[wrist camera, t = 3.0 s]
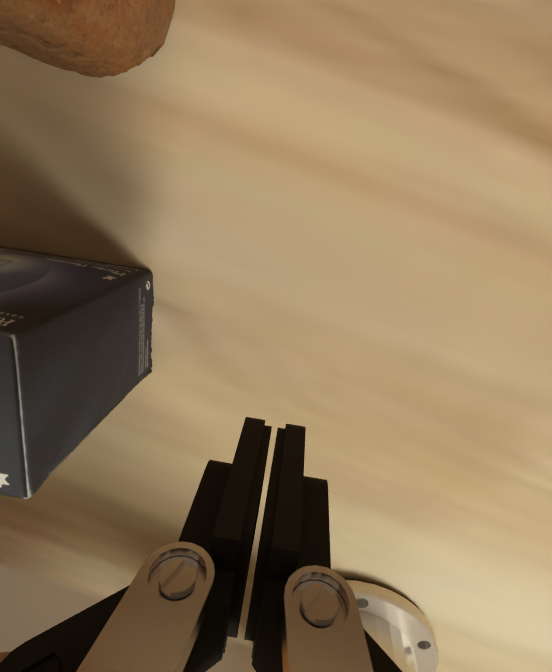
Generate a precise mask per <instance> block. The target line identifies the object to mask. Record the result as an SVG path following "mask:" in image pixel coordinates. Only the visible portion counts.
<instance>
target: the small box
mask: <svg viewBox="0 0 552 672" xmlns="http://www.w3.org/2000/svg"><path fill="white" fill-rule="evenodd" d="M153 299H154V297H153V274H152V272H151V271H149V270H145V269H140V268H133V267H127V266H120V265H114V264H107V263H101V262H95V261H89V260H83V259H76V258H70V257H64V256H57V255H51V254H45V253H39V252H32V251H26V250H20V249H13V248H7V247H1V246H0V495H5V496H11V497H16V498H21V499H28V498H30V497H31V496H32V495H33V494H34V493H35V492H36V491H37V490H38V489H39V488H40V486H41V485H42V484H43V482H44V481H45V480H46V479H47V477H48V476H49V475H50V474H51V473H52V472H53V471H54V470H55V469H56V468H57V466H58V465H59V464H60V463H61V462H63V461H64V460H65V459H66V458H67V456H68V455H69V454H70V453H71V452H72V451H73V450H74V449H75V448H76V447H77V446H78V445H79V444H80V443H81V442H82V441H83V440H84V439H85V438H86V437H87V436H88V435H89V434H90V433H91V432H92V430H93V429H95V428H96V427H97V425H98V424H99V423H100V422H101V421H102V420H103V419H104V418H105V417H106V416H107V415H108V414H109V413H110V412H111V411H112V410H113V409H114V408H115V407H116V406H117V405H118V404H119V403H120V402H121V401H122V400H123V399H124V398H125V396H126V395H127V394H128V393H129V392H130V391H131V390H132V389H133V388H134V387H135V386H136V385H137V384H138V383H139V382H140V381H141V380H142V379H144V378H145V377H146V376H147V375H148V374H150V373H151V372H152V370H151V367H152V359H151V352H152V348H151V335H152V333H151V329H152V307H153V305H154V301H153Z"/></svg>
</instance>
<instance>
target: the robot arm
mask: <svg viewBox="0 0 552 672" xmlns="http://www.w3.org/2000/svg"><path fill="white" fill-rule="evenodd" d="M271 428H272V427H271V426H265V420H261V419H255V418H249V417H246V419H245V422H244V425H243V429H242V432H241V436H240V439H239V443H238V446H237V450H236V453H235V457H234V460H233V464H230V463H225V462H219V461H213V460H209V461H208V464H207V466H206V469H205V471H204V474H203V477H202V479H201V482H200V485H199V487H198V490H197V493H196V495H195V498H194V501H193V503H192V506H191V509H190V511H189V514H188V517H187V519H186V522H185V525H184V527H183V530H182V533H181V536H180V538H179V541H178V542H173V543H170V544H167V545H164V546H161V547H160V548H159V549H157V550H156V551H154V552H153V553H152V554H151V555H150V556H149V557H148V558H147V560H146V561H145V562H144V564H143V565H142V567H141V569H140V570H139V572H138V573H137V575H136V577H135V578H134V580H133V581H132V583H131V585H129V586H127V587H126V588H124V589H122V590H120V591H118V592H116V593H115V594H113V595H111V596H109V597H107V598H105V599H104V600H102V601H100V602H98V603H96V604H94V605H92V606H91V607H89V608H87V609H85V610H83V611H82V612H80V613H78V614H76V615H74V616H72V617H70V618H69V619H67V620H65V621H63V622H62V623H59V624H58V625H56V626H54V627H52V628H50V629H49V630H47V631H45V632H43V633H41V634H39V635H37V636H36V637H34V638H32V639H30V640H28V641H26V642H25V643H23V644H22V645H20V646H19V647H17V648H16V649H14V650H13V651H12V652H3V653H0V672H206V671H207V670H208V669H210V668H211V667H212V666H213V665H215V664H216V663H217V662H219V661H220V660H221V659H222V655H223V653H224V652H225V647H226V642H227V637H228V636H229V637H235V638H237V634H238V628H239V622H240V616H241V611H242V605H243V599H244V593H245V587H246V581H247V575H248V570H249V564H250V558H251V552H252V546H253V540H254V535H255V529H256V523H257V517H258V511H259V505H260V499H261V493H262V486H263V480H264V473H265V467H266V460H267V454H268V448H269V441H270V435H271ZM304 451H305V427H303V426H297V425H291V424H286V427H285V429H283V428H278V430H277V436H276V442H275V448H274V455H273V461H272V467H271V473H270V479H269V485H268V491H267V497H266V504H265V510H264V516H263V523H262V529H261V536H260V542H259V549H258V555H257V562H256V568H255V575H254V581H253V588H252V594H251V601H250V607H249V614H248V620H247V626H246V633H245V640H251V641H254V643H253V651H252V658H253V660H252V666H253V667H254V669H255V671H256V672H436V670H437V666H438V648H437V644H436V640H435V636H434V632H433V630H432V628H431V626H430V624H429V622H428V620H427V619H426V617H425V616H424V615H423V614H422V612H421V611H420V610H419V609H418V608H417V607H416V606H414V605H413V604H412V603H411V602H410V601H408V600H407V599H405V598H404V597H402V596H400V595H398V594H397V593H395V592H393V591H391V590H388V589H386V588H383V587H380V586H378V585H375V584H370V583H366V582H362V581H356V580H345V579H344V578H343V577H341V576H340V575H339V574H338V573H337V572H335V571H333V570H331V563H330V534H329V505H328V483H327V480H323V479H317V478H312V477H306V476H303V473H304Z"/></svg>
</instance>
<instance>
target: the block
mask: <svg viewBox="0 0 552 672" xmlns="http://www.w3.org/2000/svg"><path fill="white" fill-rule="evenodd" d="M174 9H175V0H0V44H1V45H2V46H7V47H10V48H12V49H15V50H17V51H19V52H22V53H24V54H26V55H28V56H30V57H33V58H35V59H37V60H40V61H42V62H44V63H47V64H50V65H52V66H55V67H58V68H61V69H64V70H69V71H75V72H78V73H80V74H82V75H85V76H91V77H99V78H101V77H104V76H115V75H118V74H120V73H123V72H127V71H128V70H129V69H131V68H133V67H135V66H137V65H140V64H141V63H142V62H143V61H145V60H146V59H147V58H148V57H152V56H154V55H155V54H156V52H157V51H158V50H159V49H160V48H161V47H162V46H163V45H164V42H165V39H166V35H167V32H168V29H169V26H170V23H171V20H172V17H173V13H174Z"/></svg>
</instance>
